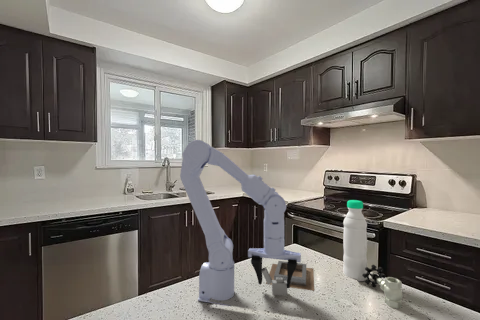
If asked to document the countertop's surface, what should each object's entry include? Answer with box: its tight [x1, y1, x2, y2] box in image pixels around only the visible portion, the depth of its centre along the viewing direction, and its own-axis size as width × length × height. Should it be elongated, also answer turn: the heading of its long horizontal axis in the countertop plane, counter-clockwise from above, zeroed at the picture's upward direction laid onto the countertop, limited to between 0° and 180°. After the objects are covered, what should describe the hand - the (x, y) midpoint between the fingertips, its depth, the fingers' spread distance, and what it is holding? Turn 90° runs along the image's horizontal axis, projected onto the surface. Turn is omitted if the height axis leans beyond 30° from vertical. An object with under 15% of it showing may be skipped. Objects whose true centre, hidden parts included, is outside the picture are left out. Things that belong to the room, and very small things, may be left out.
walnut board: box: [265, 263, 315, 291], centre depth 80 cm, size 14×15×1 cm
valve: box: [362, 264, 404, 309], centre depth 70 cm, size 7×7×12 cm
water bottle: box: [342, 199, 368, 282], centre depth 81 cm, size 7×7×25 cm
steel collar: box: [274, 260, 307, 286], centre depth 80 cm, size 9×11×2 cm
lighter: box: [261, 266, 288, 296], centre depth 69 cm, size 7×2×8 cm, turn 86°
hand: (274, 284), depth 69 cm, fingers open, 7 cm apart
